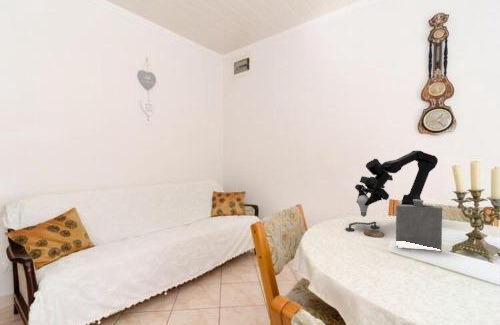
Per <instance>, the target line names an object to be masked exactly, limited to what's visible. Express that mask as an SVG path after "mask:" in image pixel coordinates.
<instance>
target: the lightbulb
mask: <svg viewBox="0 0 500 325" xmlns="http://www.w3.org/2000/svg"><path fill="white" fill-rule="evenodd" d="M367 196H368V195H367ZM367 196H365V195H361V196H359V197H358V196H357V198H358V199H356V203H357V205H358V207H359V211H360V216H362V217H366V216H367V212H368V208H369V206H370V205H368V206H366V205H365V203H366V201H367V200H368V198H369V197H370V196H368V197H367Z"/></svg>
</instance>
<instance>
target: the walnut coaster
mask: <svg viewBox="0 0 500 325" xmlns="http://www.w3.org/2000/svg"><path fill="white" fill-rule="evenodd" d="M363 235H364V236H367V237H371V238H384V237H385V232H383V231H381V230H378V229H365V230H363Z"/></svg>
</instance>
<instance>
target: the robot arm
mask: <svg viewBox="0 0 500 325" xmlns="http://www.w3.org/2000/svg"><path fill="white" fill-rule="evenodd" d="M412 162H416V164H417V168H418V171H417V173H416V175H415V178H414V180H413V183H412V186H411V188H410V191H409V192H408V194H403V196H402V199H401V204H400V205H414V202H413V200H414V199H418V200H422V199H421V194H422V192H423V189H424V187H425V184H426V182H427V179H428V177H429V174H430V172H431V171H433V170H434V169H435V168H436V166H437V164H438V158H437V156H435V155H434V154H433V155H432V154H429V153H426V152H424V151H422V150H412V151H410V152H409V153H407V154H404V155H403V156H401V157H399V158H397V159H392V160H387V161H384V162H382V163H381V162H380V161H379V159H378V158H373V159H372V160H369V161H368V162H367V163H366V164H365V168H366V169H367V170H368V171H369V172H370V174H371V175H373V176H370V177H369V176H363V175H362V176H361V178H360V180H359V183H361V184H356V185H355V186H354V188H355V189H356V191H357V192H358V195H357V199H358V197H359V196H361V195H365V196H367V197H369V198H368V200H367V201H366V203H365V205H366V206H368V205H369V206H370V205H372V204H374V203H377V202H379V201H383V200H385V201H387V200H388V199H389V198H390V194H389V193H388V192H387V191H386V190H385V188H386V186H385V185H386V183H387V182H388V181H392V182H393V180H394V179H393V175H391V174H397V173H398V172H400V171H401V170H402V168H403V167H404V166H406V165H409V164H411V163H412ZM363 184H364V185H363ZM367 194H370V196H368V195H367ZM357 199H356V200H357ZM369 206H368V207H369Z"/></svg>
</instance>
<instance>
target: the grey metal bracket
mask: <svg viewBox="0 0 500 325" xmlns="http://www.w3.org/2000/svg"><path fill="white" fill-rule="evenodd" d="M354 225H366V226H368V225H369V226H370V228H371V229H372V230H379V229H380V228H381V227H380V225H377V221H371V222H360V221H359V222H357V221H355V222H350V223H349V224H348V227H345V229H344V230H345V231H347V232H349V233H350V232H351V233H352V232H355V228H353V227H352V226H354Z"/></svg>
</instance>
